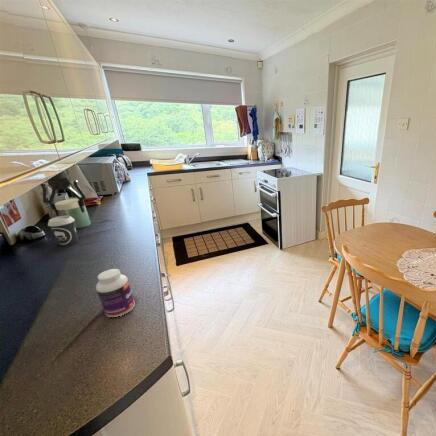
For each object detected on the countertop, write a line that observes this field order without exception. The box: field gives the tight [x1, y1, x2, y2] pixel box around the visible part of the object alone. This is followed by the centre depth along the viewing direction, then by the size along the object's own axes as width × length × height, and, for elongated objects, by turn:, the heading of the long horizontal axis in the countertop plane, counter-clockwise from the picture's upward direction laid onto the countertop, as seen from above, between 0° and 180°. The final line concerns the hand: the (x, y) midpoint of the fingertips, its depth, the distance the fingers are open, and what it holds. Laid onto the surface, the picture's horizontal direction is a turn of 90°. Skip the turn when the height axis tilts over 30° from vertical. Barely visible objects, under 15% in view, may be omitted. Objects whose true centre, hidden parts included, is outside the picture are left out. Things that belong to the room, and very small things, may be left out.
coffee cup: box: [47, 215, 79, 247], centre depth 114 cm, size 10×10×15 cm
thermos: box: [65, 197, 92, 229], centre depth 138 cm, size 9×9×16 cm
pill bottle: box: [95, 268, 136, 318], centre depth 74 cm, size 8×8×14 cm
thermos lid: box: [55, 198, 80, 211], centre depth 121 cm, size 9×9×3 cm
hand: (71, 213), depth 123 cm, fingers closed on thermos lid, 9 cm apart
